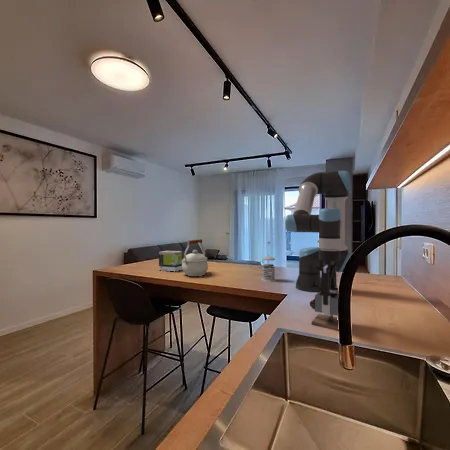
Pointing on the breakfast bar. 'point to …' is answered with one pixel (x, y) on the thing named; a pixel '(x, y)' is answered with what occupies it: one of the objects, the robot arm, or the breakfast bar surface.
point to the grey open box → (332, 303)
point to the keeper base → (321, 322)
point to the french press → (268, 270)
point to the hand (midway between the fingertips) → (328, 309)
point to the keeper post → (328, 317)
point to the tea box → (170, 260)
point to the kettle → (195, 261)
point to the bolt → (312, 303)
